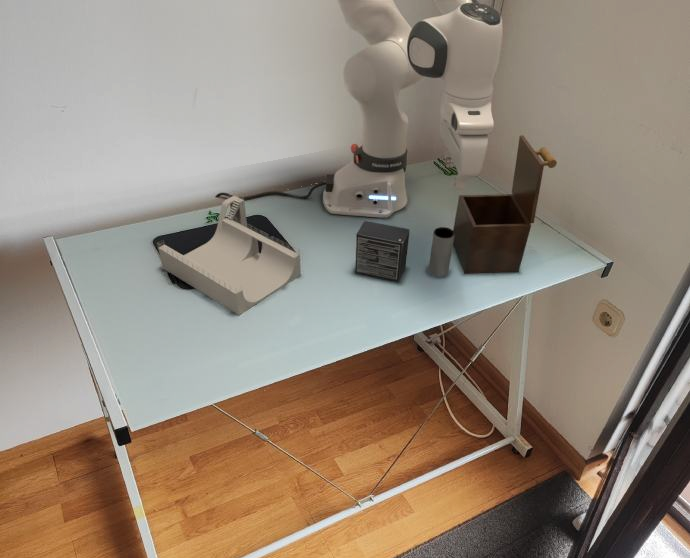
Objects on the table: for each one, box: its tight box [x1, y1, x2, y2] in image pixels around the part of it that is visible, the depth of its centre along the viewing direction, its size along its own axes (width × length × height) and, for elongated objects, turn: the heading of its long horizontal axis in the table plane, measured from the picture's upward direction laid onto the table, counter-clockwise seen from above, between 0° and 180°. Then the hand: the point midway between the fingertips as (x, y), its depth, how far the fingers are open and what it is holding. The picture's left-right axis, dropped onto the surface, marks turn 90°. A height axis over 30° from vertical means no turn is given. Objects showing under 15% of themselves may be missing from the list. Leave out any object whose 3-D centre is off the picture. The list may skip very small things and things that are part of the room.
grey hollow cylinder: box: [427, 226, 455, 278], centre depth 128 cm, size 4×4×10 cm
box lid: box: [511, 134, 558, 225], centre depth 124 cm, size 13×14×5 cm
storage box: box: [452, 193, 532, 275], centre depth 132 cm, size 13×14×12 cm
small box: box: [354, 220, 411, 284], centre depth 128 cm, size 11×6×10 cm, turn 71°
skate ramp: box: [156, 190, 302, 316], centre depth 128 cm, size 25×23×10 cm
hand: (454, 176), depth 116 cm, fingers open, 8 cm apart
